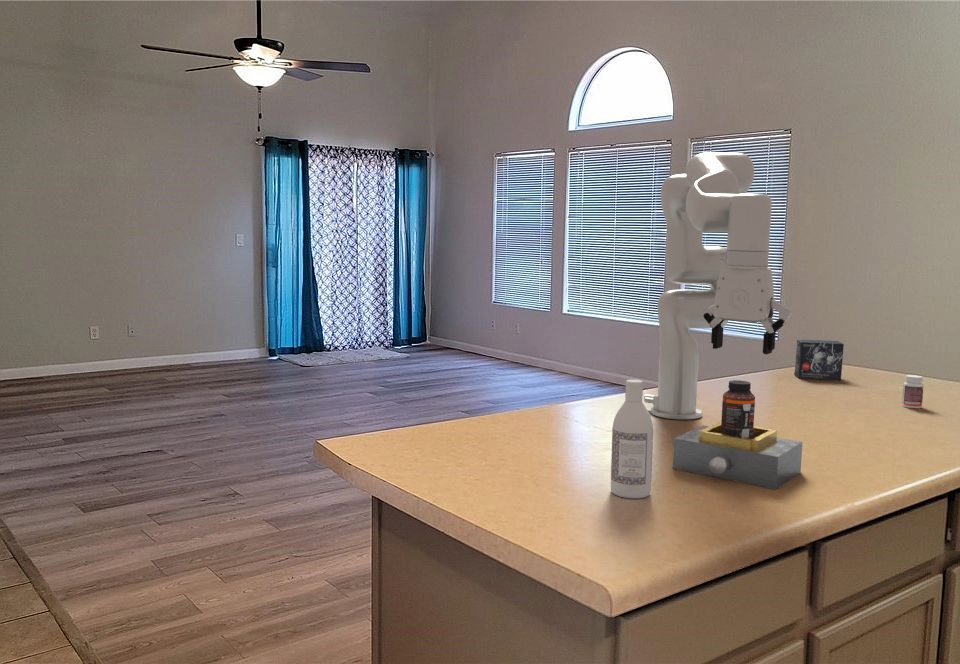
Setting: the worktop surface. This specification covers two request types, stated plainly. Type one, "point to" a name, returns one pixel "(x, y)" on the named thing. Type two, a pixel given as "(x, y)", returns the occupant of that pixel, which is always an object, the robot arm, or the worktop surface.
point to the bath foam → (632, 446)
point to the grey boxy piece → (738, 456)
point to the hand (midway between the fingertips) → (741, 350)
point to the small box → (819, 359)
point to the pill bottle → (913, 392)
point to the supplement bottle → (738, 410)
